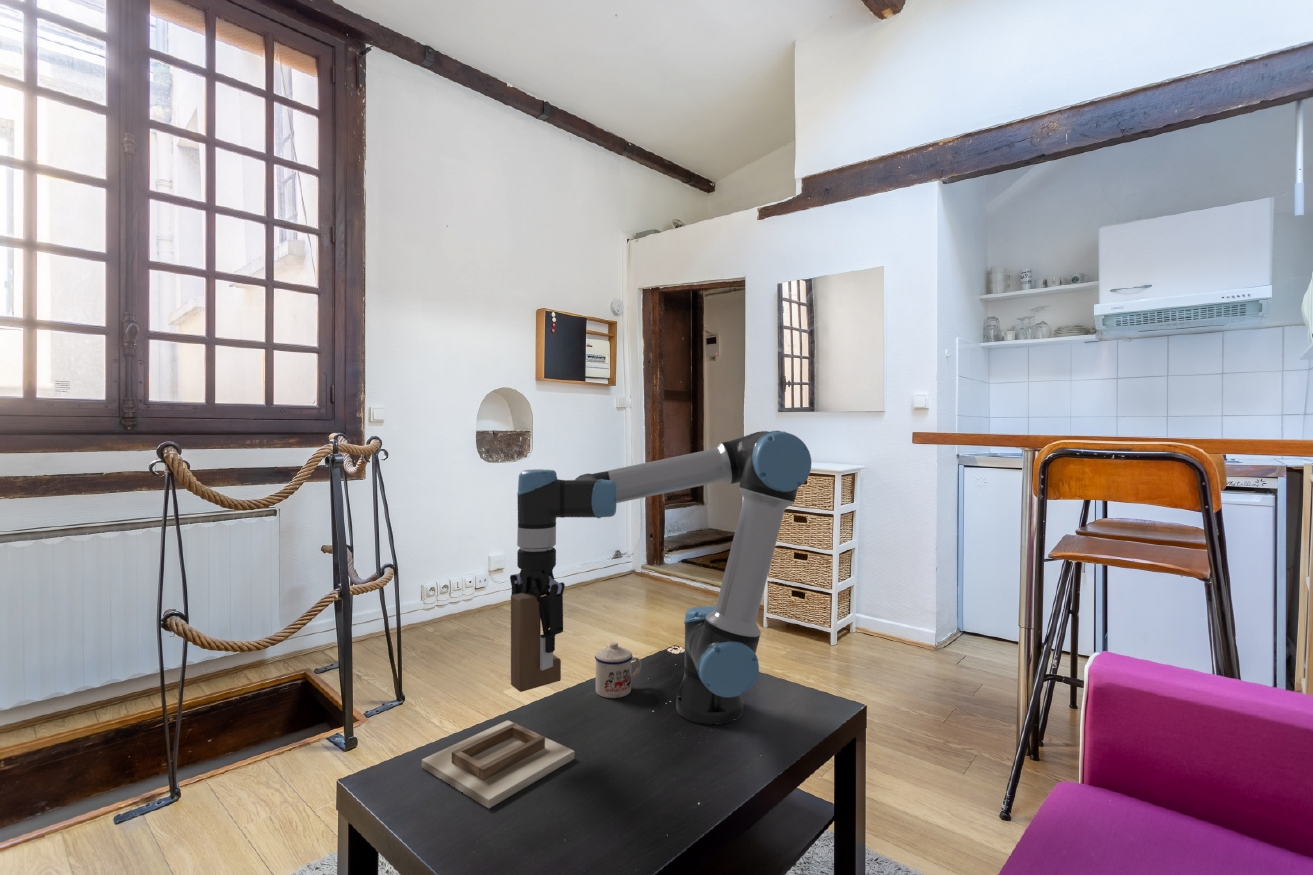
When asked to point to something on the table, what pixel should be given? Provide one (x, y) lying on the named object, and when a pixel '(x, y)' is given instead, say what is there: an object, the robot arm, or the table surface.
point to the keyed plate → (497, 762)
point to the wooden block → (528, 645)
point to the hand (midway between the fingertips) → (536, 664)
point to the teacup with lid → (614, 671)
